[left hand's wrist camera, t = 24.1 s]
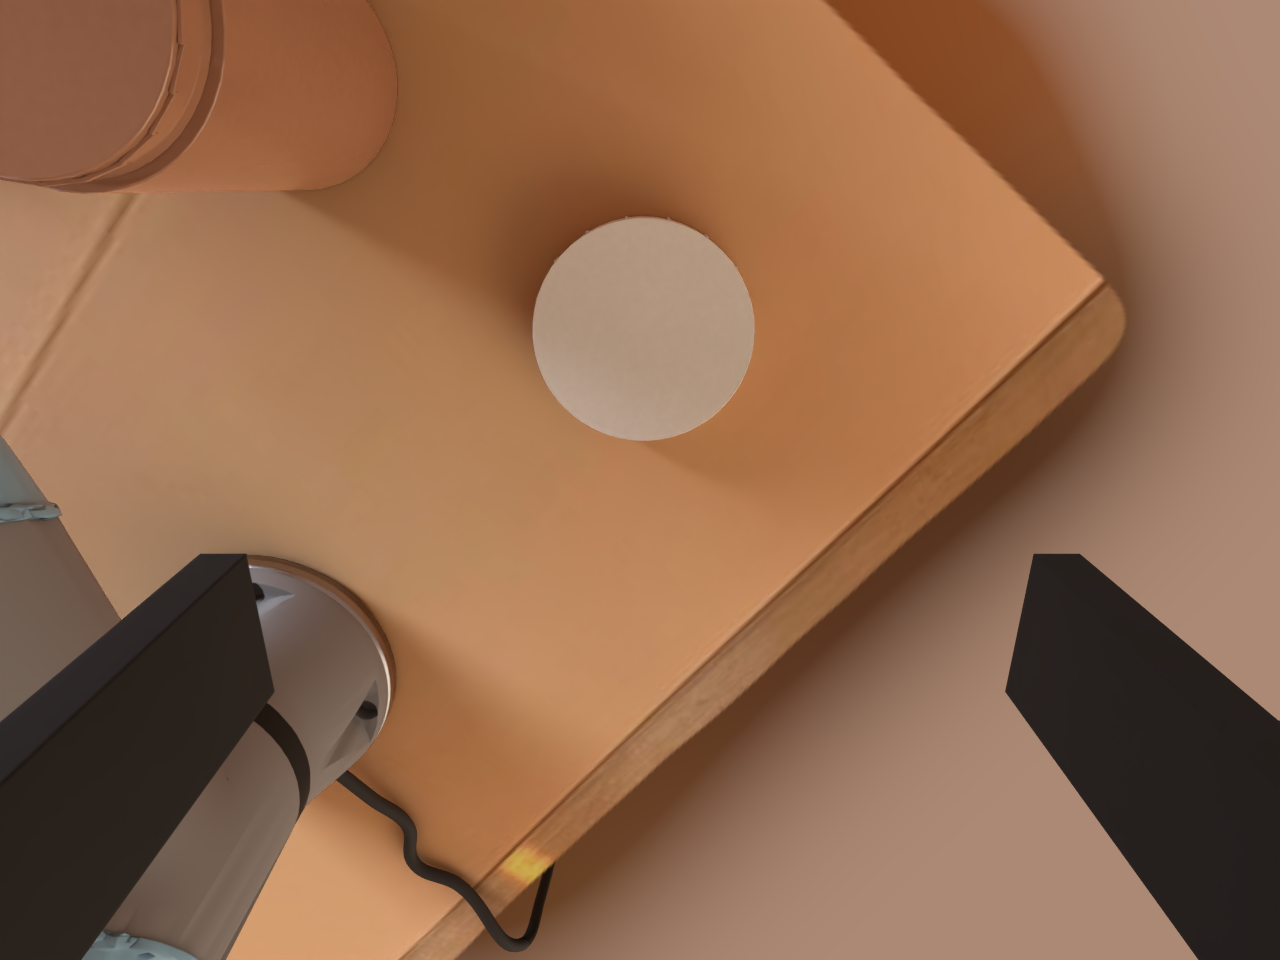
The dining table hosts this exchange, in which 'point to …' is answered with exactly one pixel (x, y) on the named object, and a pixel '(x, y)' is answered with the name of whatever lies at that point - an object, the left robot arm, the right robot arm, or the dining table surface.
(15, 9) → the jar
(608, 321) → the lid
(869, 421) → the dining table surface
